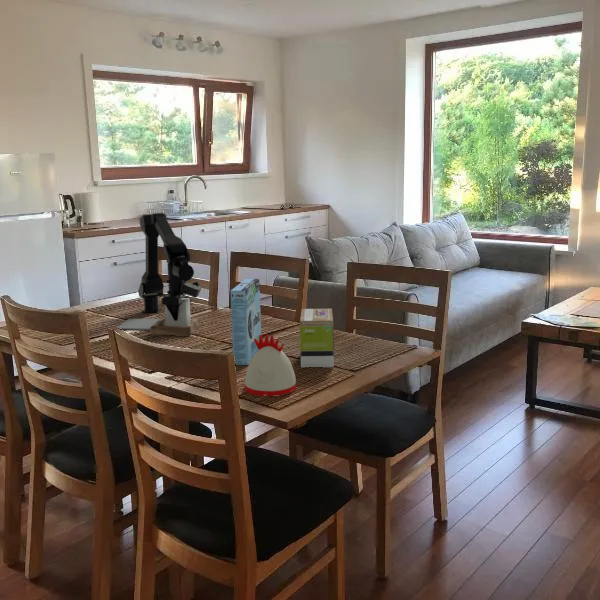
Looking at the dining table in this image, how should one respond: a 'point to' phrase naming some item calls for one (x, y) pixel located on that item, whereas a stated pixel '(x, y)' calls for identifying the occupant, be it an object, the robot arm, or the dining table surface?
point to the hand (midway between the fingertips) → (178, 318)
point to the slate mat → (138, 324)
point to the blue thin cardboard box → (245, 320)
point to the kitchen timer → (269, 370)
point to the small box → (179, 314)
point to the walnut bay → (174, 328)
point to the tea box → (316, 338)
